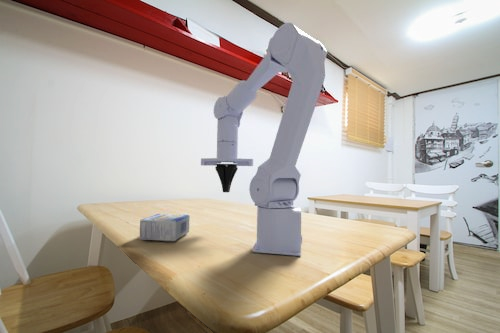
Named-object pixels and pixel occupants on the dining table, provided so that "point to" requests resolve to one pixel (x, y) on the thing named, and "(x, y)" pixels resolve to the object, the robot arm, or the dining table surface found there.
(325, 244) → the dining table surface
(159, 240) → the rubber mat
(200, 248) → the dining table surface
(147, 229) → the medicine box
